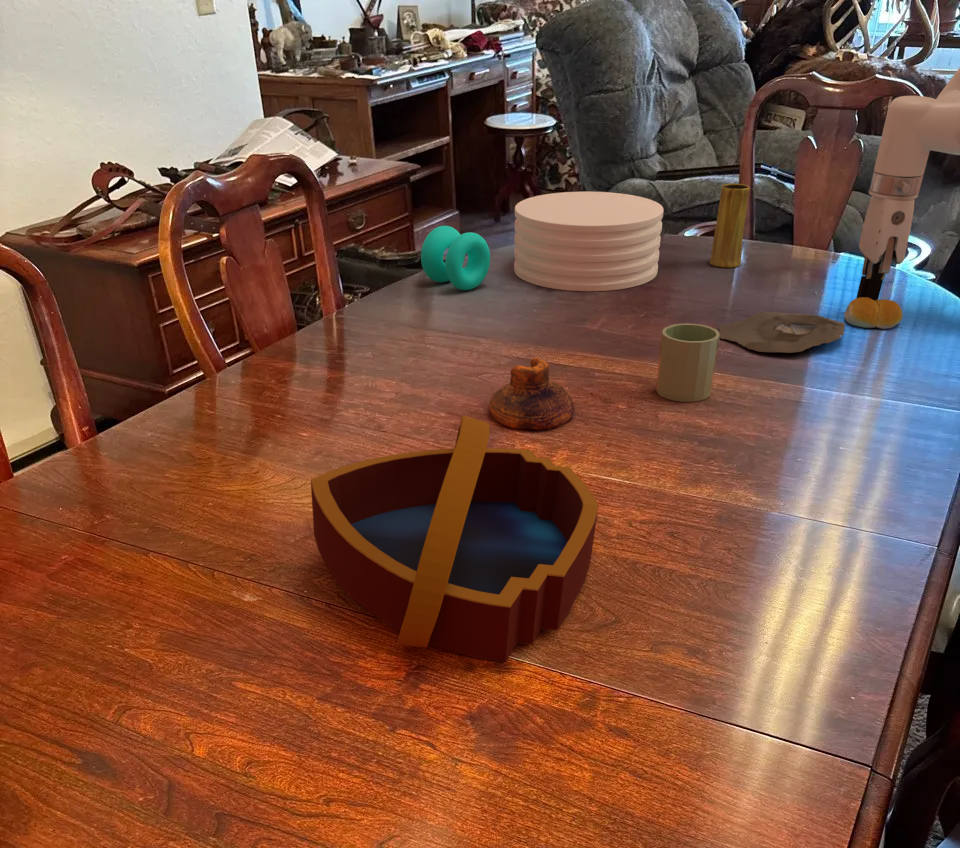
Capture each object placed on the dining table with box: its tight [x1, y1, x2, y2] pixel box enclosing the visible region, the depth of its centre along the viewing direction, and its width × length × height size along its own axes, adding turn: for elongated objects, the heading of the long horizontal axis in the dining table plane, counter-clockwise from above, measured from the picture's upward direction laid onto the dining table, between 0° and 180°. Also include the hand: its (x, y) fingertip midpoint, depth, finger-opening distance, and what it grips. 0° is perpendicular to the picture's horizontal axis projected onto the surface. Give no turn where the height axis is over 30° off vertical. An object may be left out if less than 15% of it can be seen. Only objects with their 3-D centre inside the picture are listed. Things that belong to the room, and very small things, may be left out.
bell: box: [488, 357, 575, 431], centre depth 129 cm, size 12×12×7 cm
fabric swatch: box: [716, 311, 846, 354], centre depth 155 cm, size 19×22×2 cm
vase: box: [709, 183, 751, 269], centre depth 185 cm, size 6×6×14 cm
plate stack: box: [513, 191, 664, 292], centre depth 184 cm, size 28×28×12 cm
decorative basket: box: [310, 414, 599, 663], centre depth 95 cm, size 34×29×15 cm
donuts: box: [420, 225, 491, 291], centre depth 177 cm, size 10×10×10 cm
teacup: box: [655, 323, 721, 403], centre depth 135 cm, size 8×8×8 cm
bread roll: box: [843, 297, 903, 330], centre depth 159 cm, size 8×9×4 cm
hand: (866, 301), depth 163 cm, fingers closed
